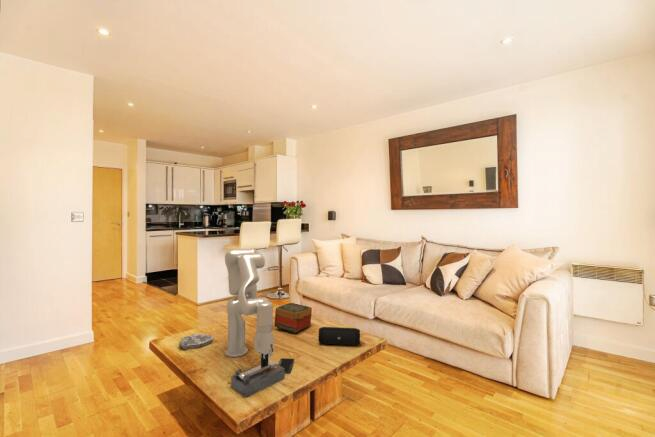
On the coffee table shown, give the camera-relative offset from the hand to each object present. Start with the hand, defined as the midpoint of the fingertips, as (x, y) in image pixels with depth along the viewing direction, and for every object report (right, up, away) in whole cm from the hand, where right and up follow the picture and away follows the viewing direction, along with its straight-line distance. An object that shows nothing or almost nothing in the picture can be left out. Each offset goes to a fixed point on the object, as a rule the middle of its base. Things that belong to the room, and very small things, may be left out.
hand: (264, 365), depth 148 cm
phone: (+8, -8, +14) cm, 18 cm away
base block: (-2, -7, -2) cm, 8 cm away
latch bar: (-3, -2, -2) cm, 4 cm away
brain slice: (-51, -7, +41) cm, 66 cm away
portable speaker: (+38, -8, +44) cm, 59 cm away
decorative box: (+6, -7, +69) cm, 69 cm away
